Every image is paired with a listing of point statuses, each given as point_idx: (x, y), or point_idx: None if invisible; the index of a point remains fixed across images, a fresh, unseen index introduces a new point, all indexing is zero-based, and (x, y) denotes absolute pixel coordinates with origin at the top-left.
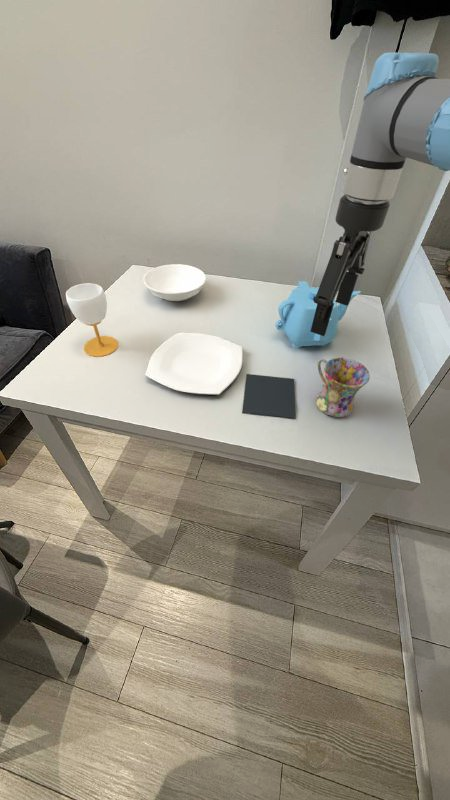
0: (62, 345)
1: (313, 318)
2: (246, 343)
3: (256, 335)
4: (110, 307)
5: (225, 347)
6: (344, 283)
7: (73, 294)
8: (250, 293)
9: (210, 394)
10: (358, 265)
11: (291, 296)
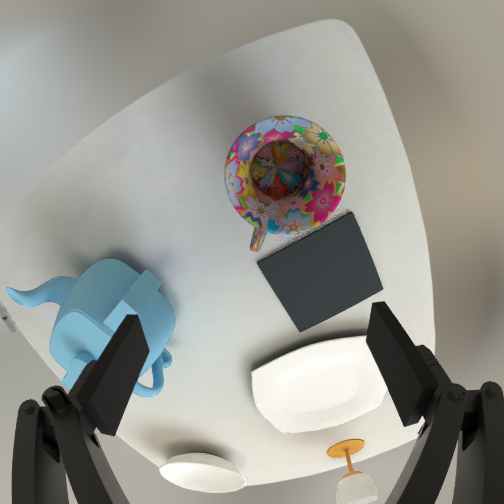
0: (360, 458)
1: None
2: (223, 368)
3: (192, 366)
4: (280, 475)
5: (271, 386)
6: (121, 395)
7: (354, 501)
8: None
9: None
10: (91, 455)
11: None
